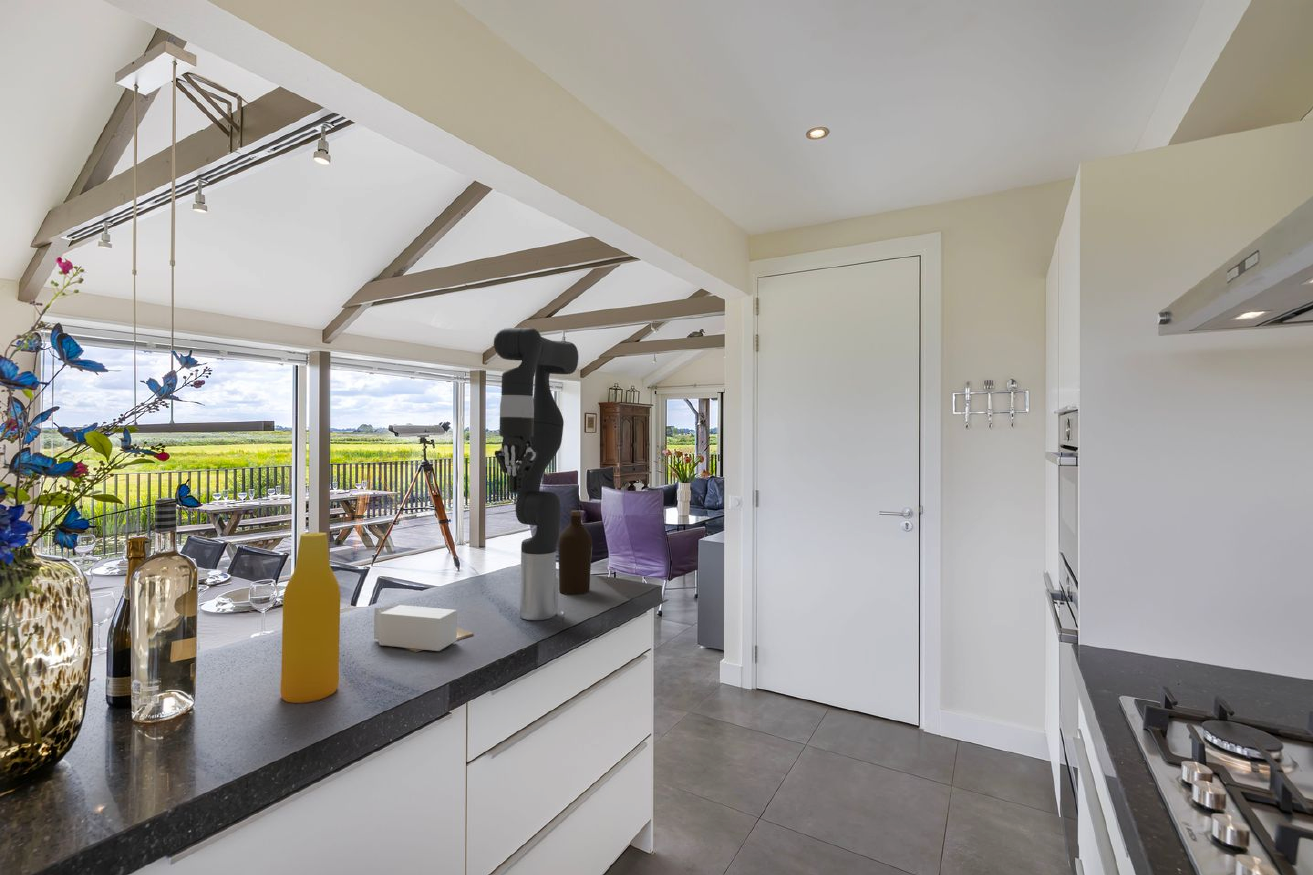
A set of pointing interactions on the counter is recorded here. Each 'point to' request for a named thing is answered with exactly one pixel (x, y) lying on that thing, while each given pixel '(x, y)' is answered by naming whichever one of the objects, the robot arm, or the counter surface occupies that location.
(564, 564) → the olive oil
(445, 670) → the counter surface
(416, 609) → the milk carton
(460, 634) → the cork mat
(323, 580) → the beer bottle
